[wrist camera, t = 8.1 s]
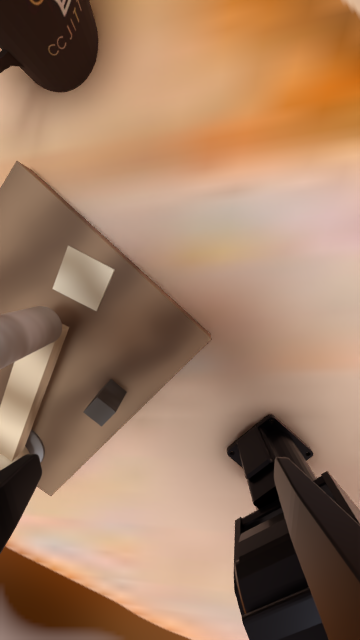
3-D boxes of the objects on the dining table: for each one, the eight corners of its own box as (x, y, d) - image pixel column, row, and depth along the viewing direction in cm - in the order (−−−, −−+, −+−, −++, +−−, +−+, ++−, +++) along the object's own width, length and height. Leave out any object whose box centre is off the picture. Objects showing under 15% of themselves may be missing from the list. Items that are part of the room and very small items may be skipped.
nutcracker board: (210, 334, 20) (215, 351, 16) (59, 483, 25) (31, 527, 21) (31, 169, 18) (-22, 136, 13) (-95, 372, 23) (-162, 396, 19)
